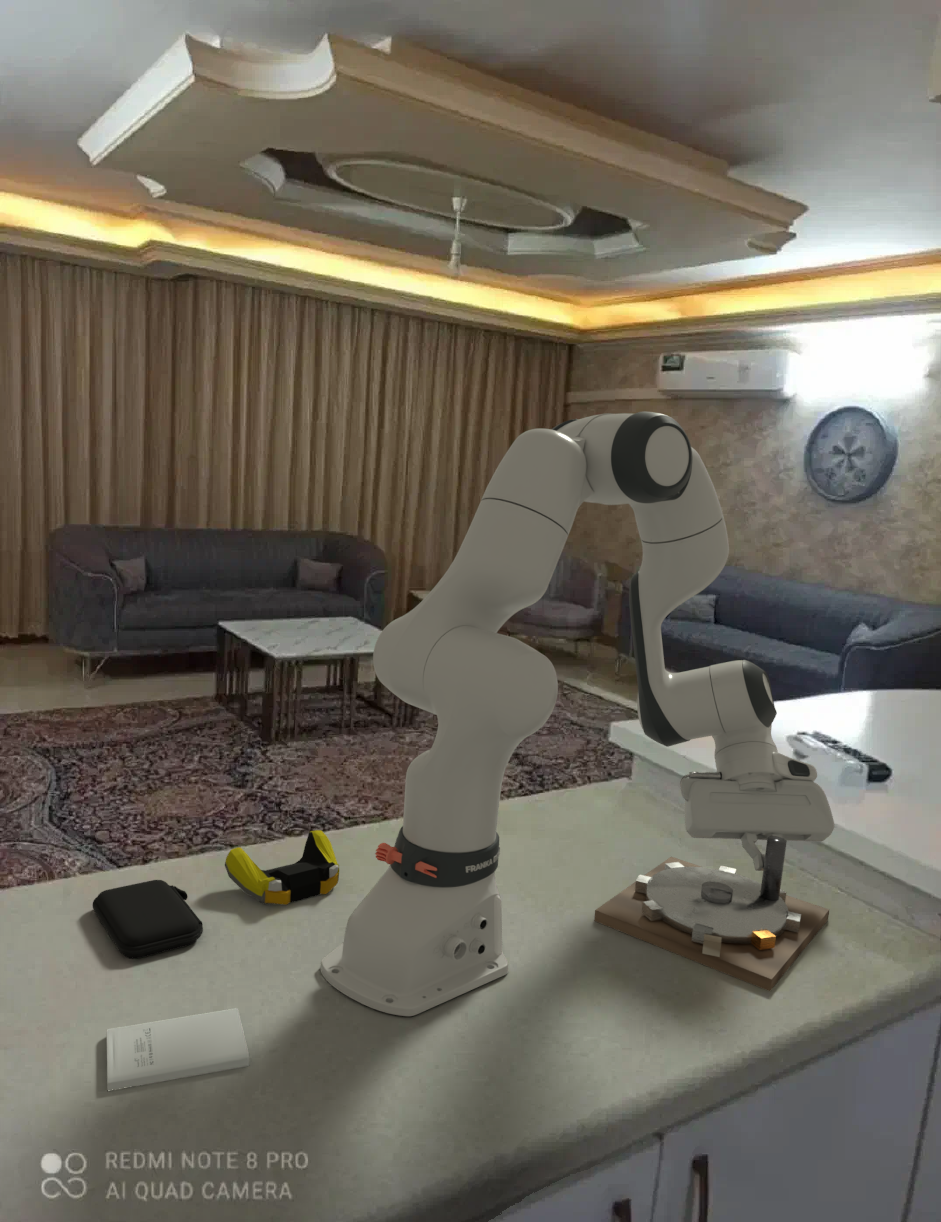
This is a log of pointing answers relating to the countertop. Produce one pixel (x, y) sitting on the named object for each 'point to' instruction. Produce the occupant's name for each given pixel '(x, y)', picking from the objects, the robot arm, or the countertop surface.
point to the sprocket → (722, 900)
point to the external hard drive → (175, 1048)
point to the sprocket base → (730, 952)
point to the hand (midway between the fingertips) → (767, 869)
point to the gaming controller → (287, 873)
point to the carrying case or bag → (147, 918)
